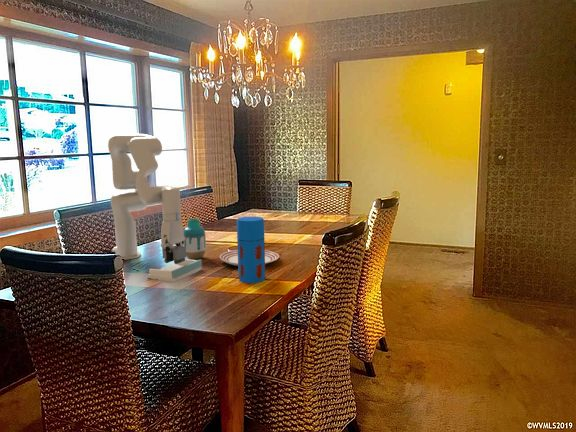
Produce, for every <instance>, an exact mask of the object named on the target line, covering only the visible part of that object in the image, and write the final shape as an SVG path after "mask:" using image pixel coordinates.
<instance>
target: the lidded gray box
mask: <svg viewBox="0 0 576 432" xmlns="http://www.w3.org/2000/svg"><path fill="white" fill-rule="evenodd" d="M168 244H169V243H168ZM169 247H170V246H168V248H169ZM161 250H162V253H161V254H162V259H164V260H163V261H164V263H165V264H168V263H171V262H173V264H178V263H181V262H184V261H185V259H186V258H187V257H186V247H184V246H176V245H175V244H174V245H173V246H172V252H173V261H167V260H166V252H165V250H164V249H163V248H162V247H161Z"/></svg>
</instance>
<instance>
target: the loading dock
mask: <svg viewBox="0 0 576 432" xmlns="http://www.w3.org/2000/svg"><path fill="white" fill-rule="evenodd" d="M202 261H203V259H190V258H185V261H184V262H181V263H178V264H175V263H172V264H170V265H167V266H165V267H162V268H160V269H157V268H156V269H155V268H149V273H147V274H146V278H147V279H149V278H151V280H156V279H158V281H163V280H165V281H164V282H171V283H176V282H177V281H180V280H182V279H184V278H187V277H189V276H191V275H193V274H195V273H198V272H199V271H201V270H203V264H202Z"/></svg>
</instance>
